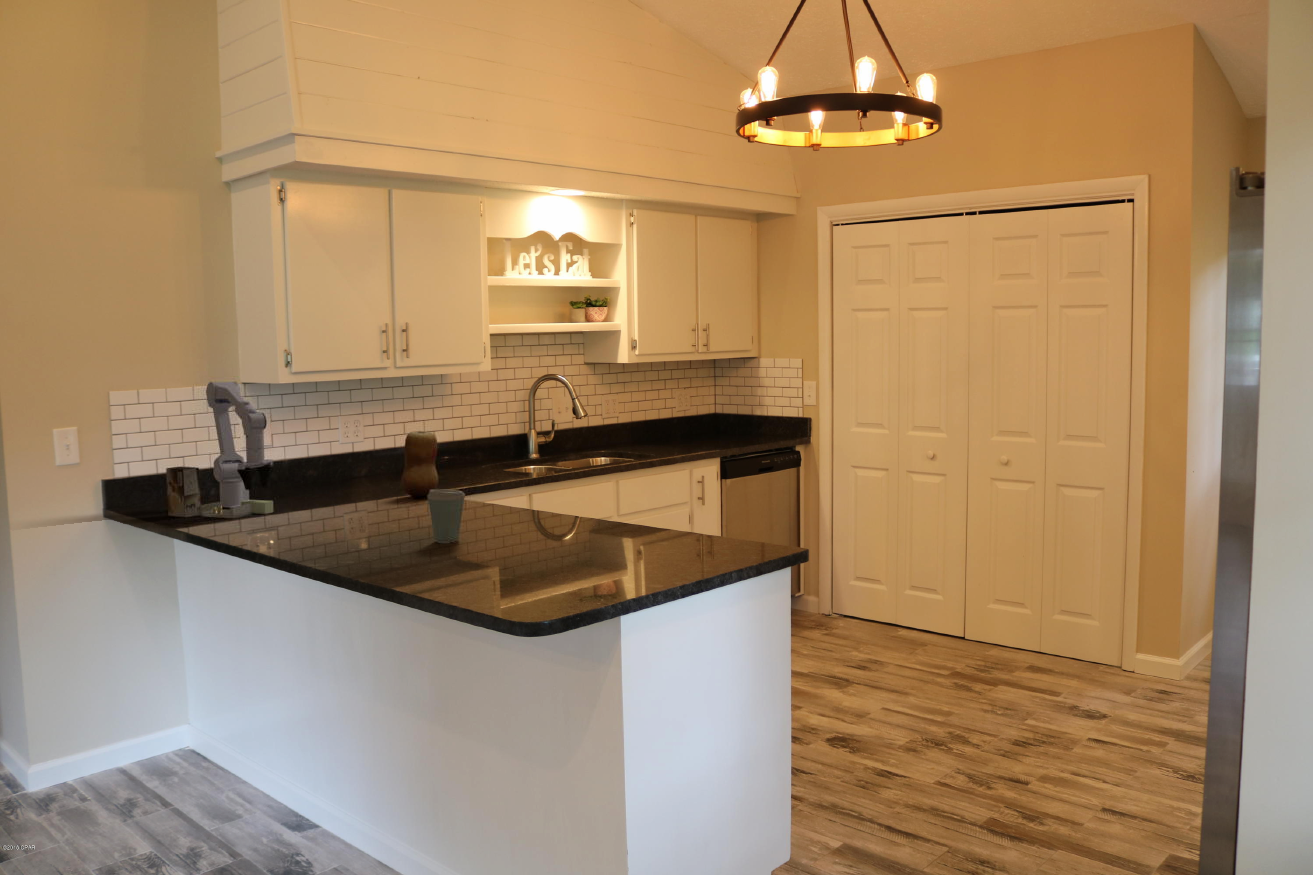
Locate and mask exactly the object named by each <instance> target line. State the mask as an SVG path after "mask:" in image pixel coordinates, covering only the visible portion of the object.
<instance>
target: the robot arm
mask: <svg viewBox="0 0 1313 875" xmlns="http://www.w3.org/2000/svg"><path fill="white" fill-rule="evenodd" d="M205 395H206V402H207V405H208V407H209V408H211V409H212V410H213V411H212V412H213V417H214V424H215V429H216V435H217V440H218V447H219V453H220V454H219V455H218V456H217V457H216V458H215V459H214V461H213V477H214V479H215V480H217V482H219V499H220V500H219V502H221V507H222V508H229V509H230V508H231V507H236V506H241V501H245V500H250V491H252V489H253V477H254V473H255V469H253V468H256V469H257V471H258V474H259V481H260V487H261V488H268V485H269V481H270V478H271V475H272V472H273V471H274V469H275V466H274V462H273V459H265V435H264V434H265V432H264V431H265V429H266V428H267V426H268V425H267V423H268V420H267V416H266V415H265V412H260V411H257V410H256V408H255V406H253V405H252V403H250V401H249V400H244V398H243V397H242V395H241V387H240V385H239V383H238V382H237V381H218V382H217V381H209V382H208V384H207V386H206V390H205ZM232 407H234V412H235V414H236V415H237V416H238V418H239V419H240V420H241V425H242V426H241V427H242V429H243V434H244V436H245V456H246V458H245V459H246V461H245V459H244V456H242V455H240V454H239V453H238V452H236V447H235V442H234V441H235V440H234V435H233V430H232V423H231V418H230V412H229V409H230V408H232Z"/></svg>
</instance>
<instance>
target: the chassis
mask: <svg viewBox="0 0 1313 875" xmlns="http://www.w3.org/2000/svg"><path fill="white" fill-rule="evenodd" d="M253 514H254V513H253V510H252V504H246V505H241V506H236V507H231V508H229V509H223V507H221V502H220V501H218V502H210V503H206V504H201V505H200V506H199V515H198V517H206V518H208V517H209V518H222V519H237V518H241V517H247V516H251V515H253Z"/></svg>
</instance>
